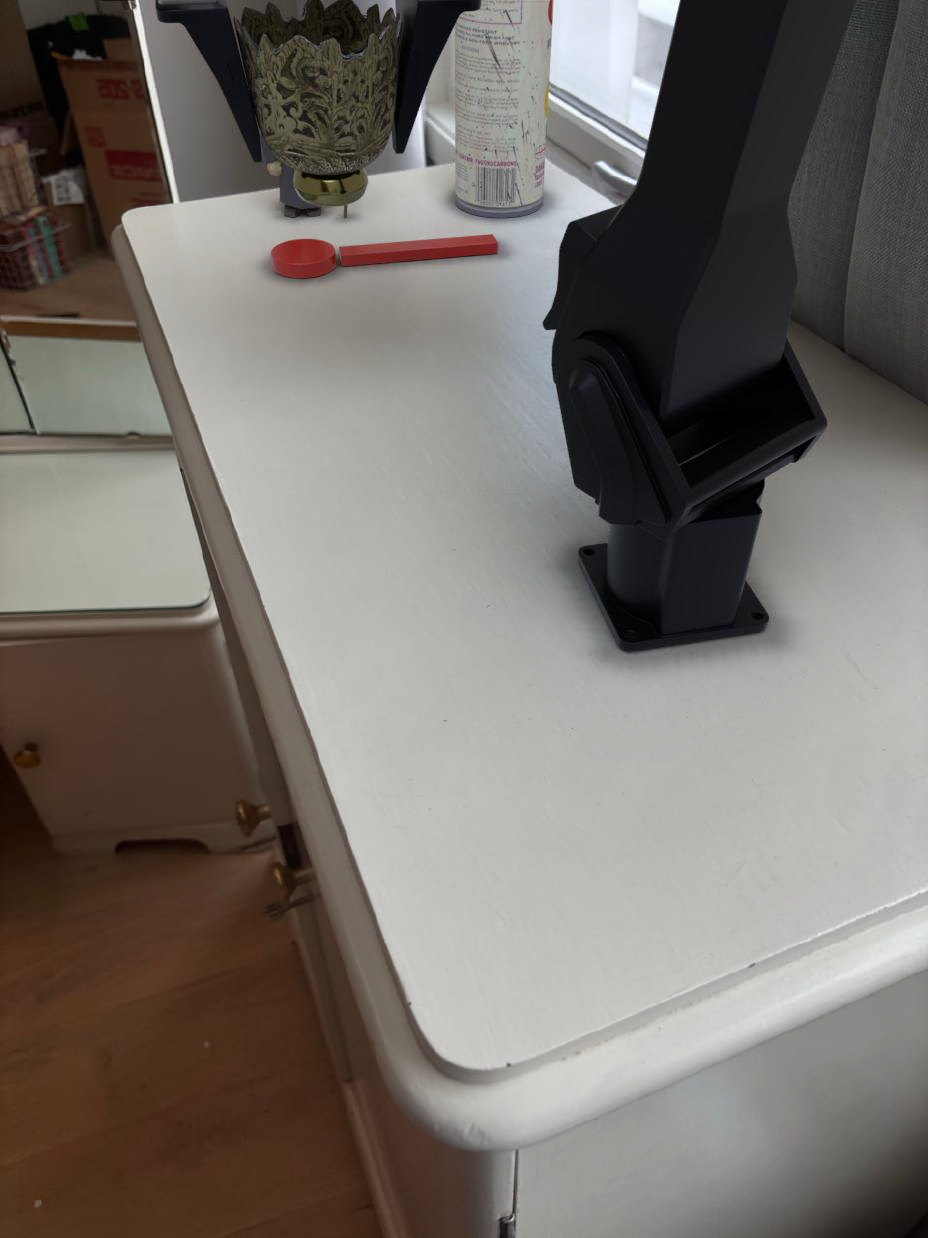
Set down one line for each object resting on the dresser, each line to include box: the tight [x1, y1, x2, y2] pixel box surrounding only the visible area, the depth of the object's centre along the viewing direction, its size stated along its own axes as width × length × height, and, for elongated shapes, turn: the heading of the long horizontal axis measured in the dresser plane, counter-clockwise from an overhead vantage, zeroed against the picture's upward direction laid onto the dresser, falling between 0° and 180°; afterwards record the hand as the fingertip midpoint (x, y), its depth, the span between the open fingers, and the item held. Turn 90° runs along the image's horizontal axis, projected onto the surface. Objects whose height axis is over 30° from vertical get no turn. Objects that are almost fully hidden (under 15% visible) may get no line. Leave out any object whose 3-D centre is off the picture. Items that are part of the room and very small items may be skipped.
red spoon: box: [270, 233, 499, 279], centre depth 70 cm, size 4×16×1 cm, turn 102°
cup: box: [233, 0, 402, 208], centre depth 47 cm, size 8×7×8 cm
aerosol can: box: [454, 0, 555, 219], centre depth 71 cm, size 7×7×20 cm
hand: (329, 155), depth 49 cm, fingers closed on cup, 6 cm apart
